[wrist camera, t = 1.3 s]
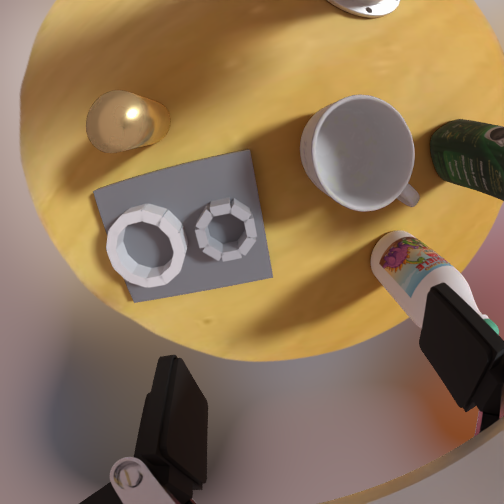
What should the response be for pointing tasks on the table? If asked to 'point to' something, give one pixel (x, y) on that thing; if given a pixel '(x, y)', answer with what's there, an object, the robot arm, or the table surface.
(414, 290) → the milk bottle
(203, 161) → the collar board
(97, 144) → the gold cylindrical peg
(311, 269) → the table surface
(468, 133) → the coffee jar
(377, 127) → the teacup
